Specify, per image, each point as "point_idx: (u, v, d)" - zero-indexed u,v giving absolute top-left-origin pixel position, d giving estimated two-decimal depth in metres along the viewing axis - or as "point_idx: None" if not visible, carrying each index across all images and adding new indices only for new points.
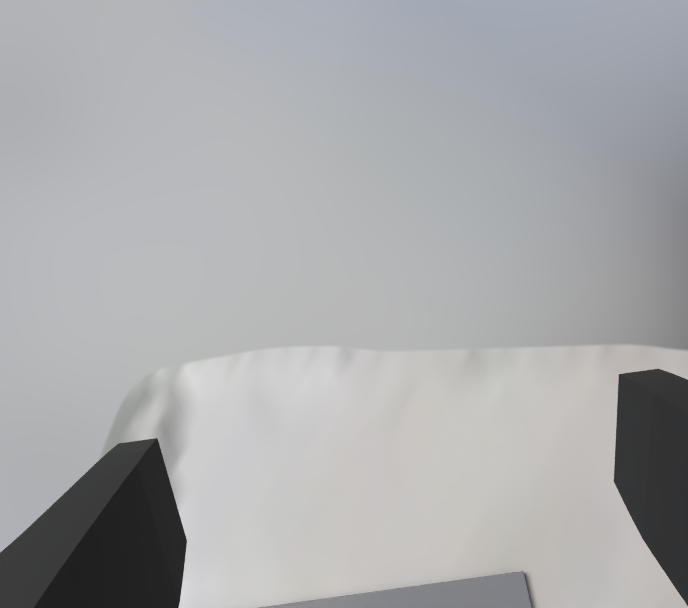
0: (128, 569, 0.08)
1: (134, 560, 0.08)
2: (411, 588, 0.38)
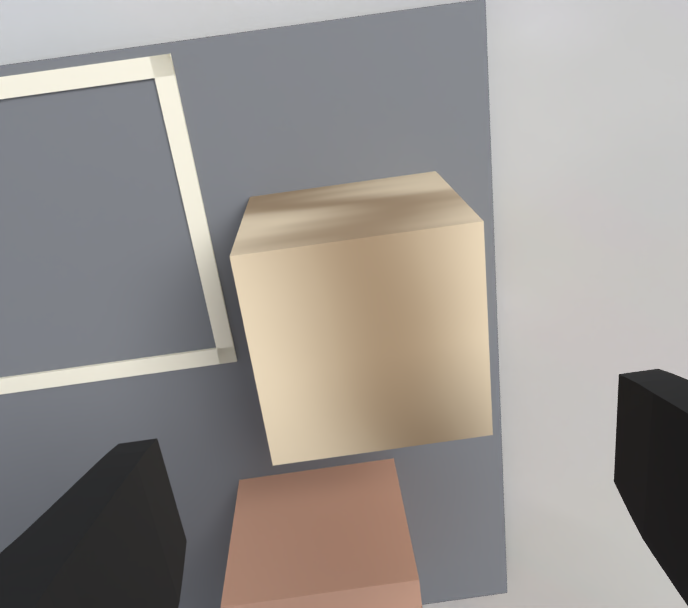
0: (128, 569, 0.08)
1: (134, 560, 0.08)
2: (498, 437, 0.21)
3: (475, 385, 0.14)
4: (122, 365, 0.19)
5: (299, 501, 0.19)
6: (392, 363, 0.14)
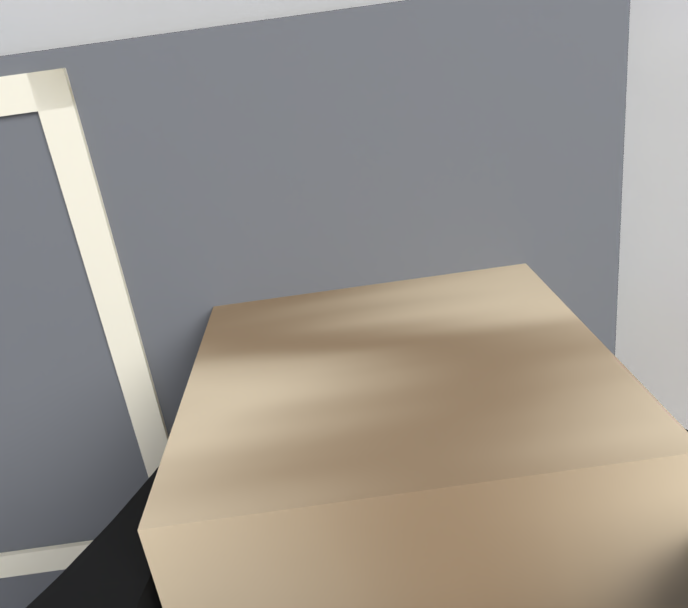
0: None
1: None
2: None
3: None
4: (16, 559, 0.12)
5: None
6: None
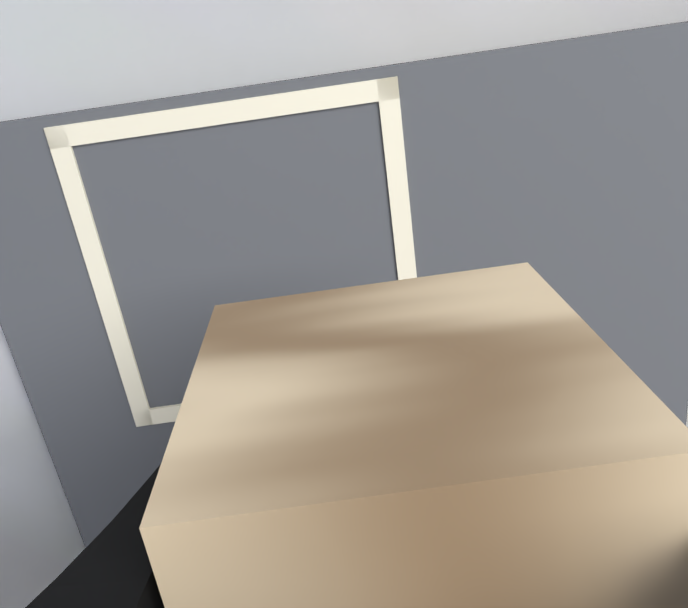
0: None
1: None
2: None
3: None
4: None
5: None
6: None
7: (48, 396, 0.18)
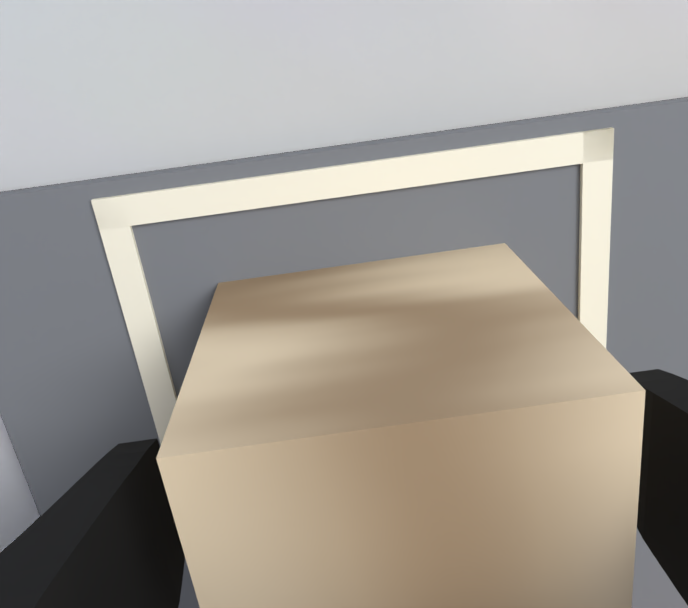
0: (129, 568, 0.08)
1: (134, 560, 0.08)
2: None
3: None
4: None
5: None
6: None
7: None
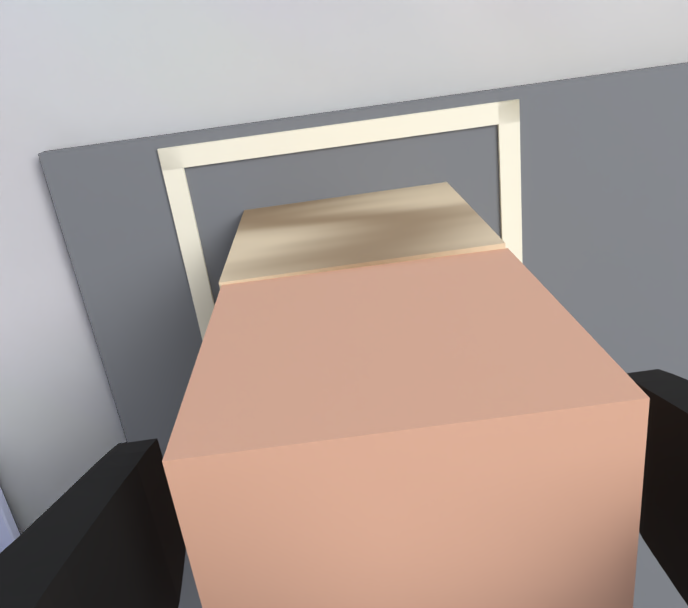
0: (129, 569, 0.08)
1: (134, 560, 0.08)
2: None
3: None
4: None
5: (337, 302, 0.10)
6: None
7: (141, 419, 0.18)
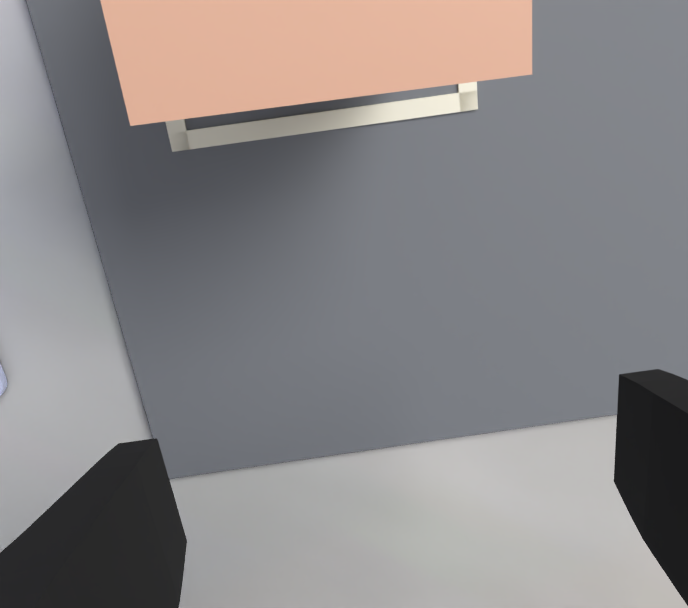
0: (129, 568, 0.08)
1: (134, 560, 0.08)
2: None
3: None
4: (358, 111, 0.18)
5: None
6: None
7: (80, 112, 0.17)
